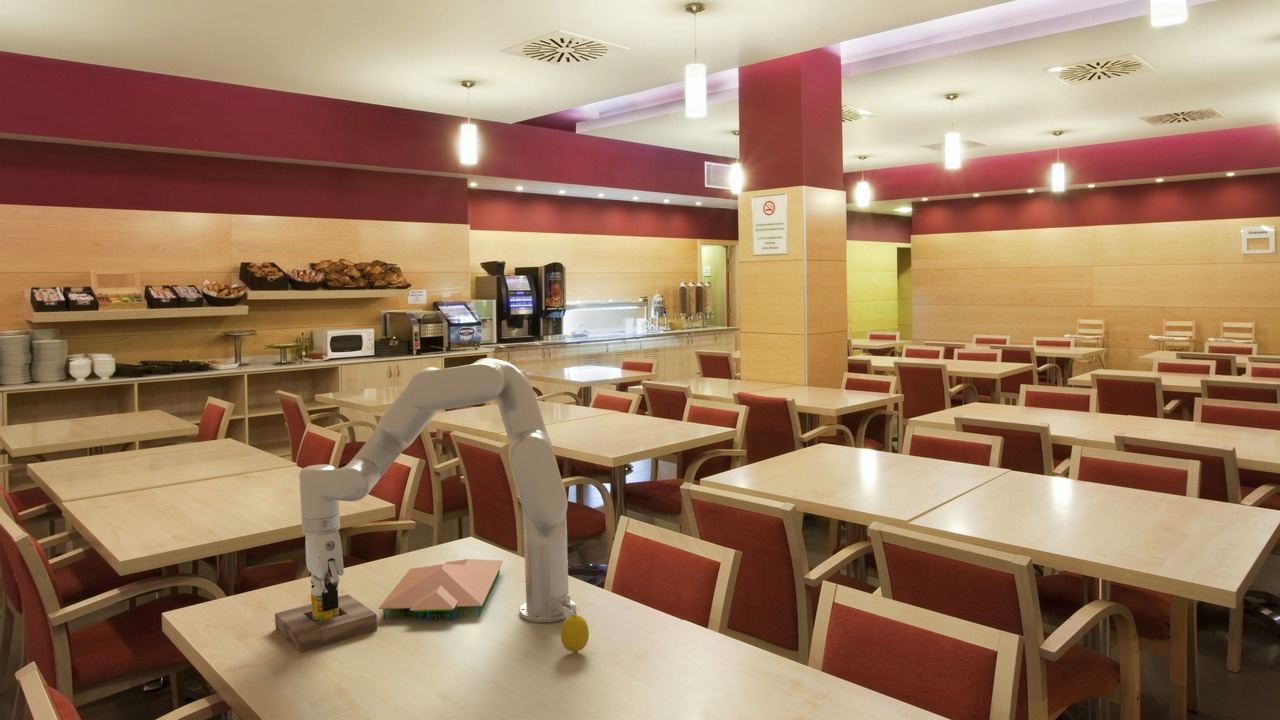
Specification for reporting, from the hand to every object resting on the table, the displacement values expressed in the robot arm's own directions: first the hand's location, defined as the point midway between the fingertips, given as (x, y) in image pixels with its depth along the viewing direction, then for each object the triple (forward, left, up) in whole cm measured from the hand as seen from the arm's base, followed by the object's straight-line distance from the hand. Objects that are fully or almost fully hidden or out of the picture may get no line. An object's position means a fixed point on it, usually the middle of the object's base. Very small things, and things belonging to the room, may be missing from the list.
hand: (325, 604), depth 172 cm
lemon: (-47, -32, -6) cm, 57 cm away
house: (0, -28, -6) cm, 28 cm away
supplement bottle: (0, 0, -4) cm, 4 cm away
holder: (0, 0, -6) cm, 6 cm away
